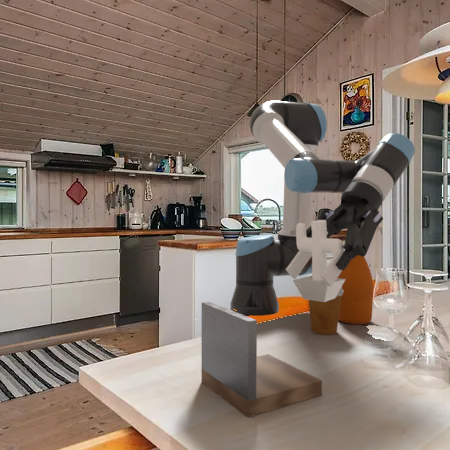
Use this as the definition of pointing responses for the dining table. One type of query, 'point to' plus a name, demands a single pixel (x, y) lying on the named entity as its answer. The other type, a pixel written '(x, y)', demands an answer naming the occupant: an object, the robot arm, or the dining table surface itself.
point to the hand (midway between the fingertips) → (307, 277)
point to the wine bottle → (356, 292)
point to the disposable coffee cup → (325, 315)
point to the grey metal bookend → (230, 348)
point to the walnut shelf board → (269, 387)
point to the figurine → (317, 262)
